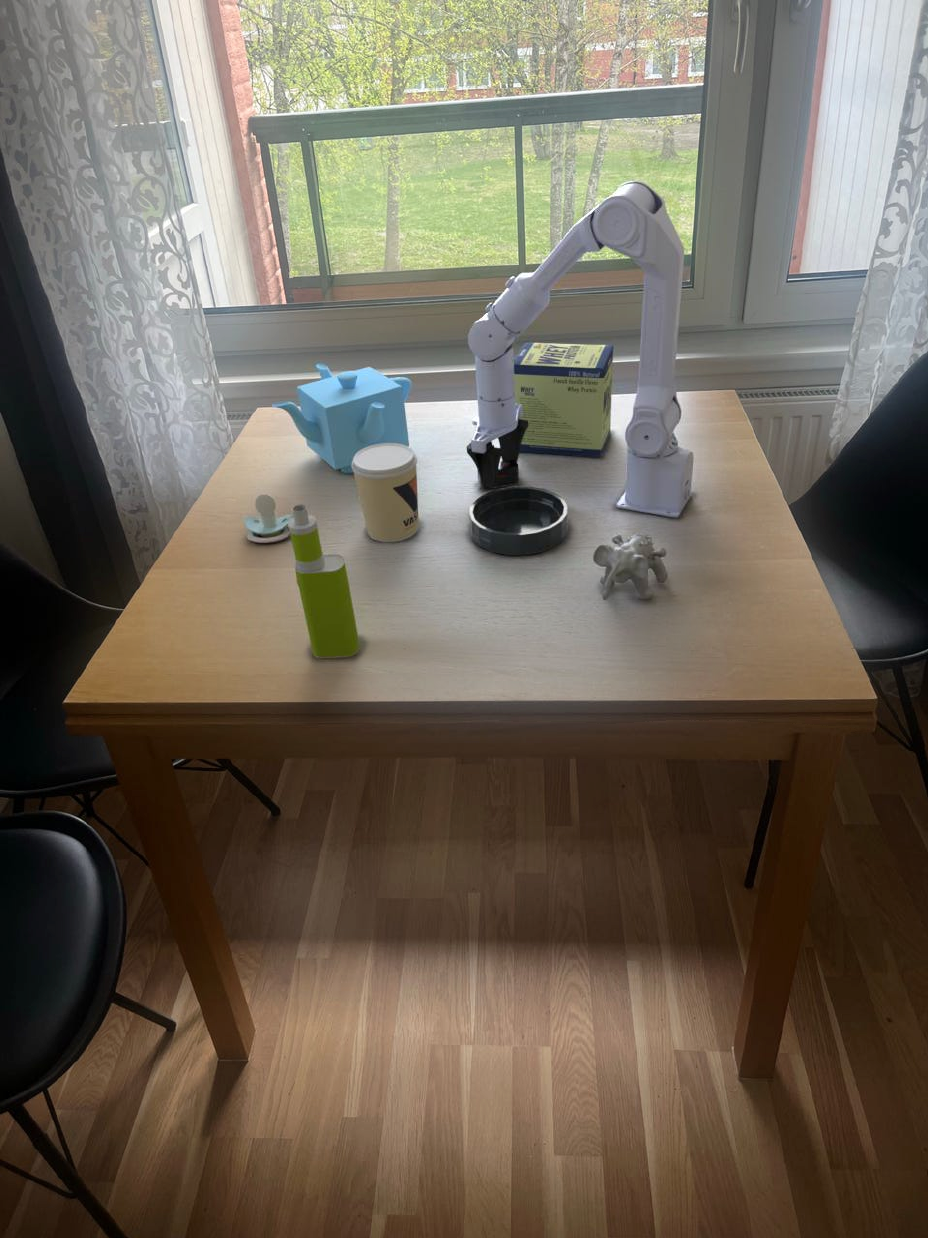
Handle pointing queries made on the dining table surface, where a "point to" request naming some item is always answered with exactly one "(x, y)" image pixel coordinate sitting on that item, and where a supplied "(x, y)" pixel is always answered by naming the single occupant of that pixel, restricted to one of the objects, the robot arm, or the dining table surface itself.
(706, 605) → the dining table surface
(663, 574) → the gray elephant figurine
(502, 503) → the bowl
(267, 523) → the pacifier
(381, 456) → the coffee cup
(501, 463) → the wireless earbuds
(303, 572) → the vape
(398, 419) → the teakettle
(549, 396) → the protein box
